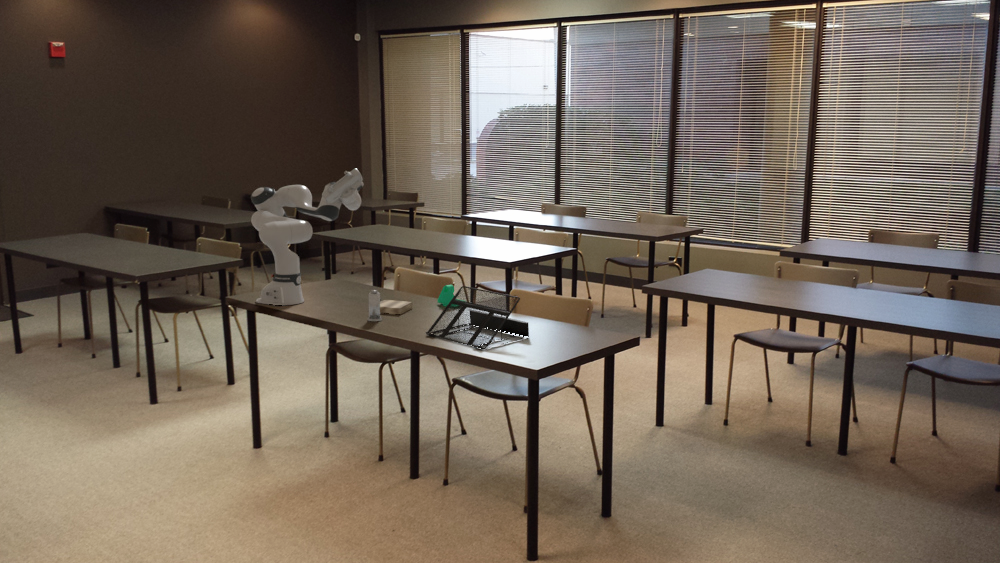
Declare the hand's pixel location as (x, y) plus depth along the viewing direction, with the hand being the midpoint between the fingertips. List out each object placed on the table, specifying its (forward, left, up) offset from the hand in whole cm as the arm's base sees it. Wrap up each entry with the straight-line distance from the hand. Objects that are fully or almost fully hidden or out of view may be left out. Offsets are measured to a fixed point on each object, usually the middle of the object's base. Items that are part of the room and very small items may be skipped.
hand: (337, 178), depth 371 cm
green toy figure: (+47, +22, -60) cm, 79 cm away
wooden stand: (+25, +2, -59) cm, 65 cm away
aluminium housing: (+26, -18, -60) cm, 67 cm away
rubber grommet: (+14, +9, -60) cm, 62 cm away
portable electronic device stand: (+77, -29, -60) cm, 102 cm away
